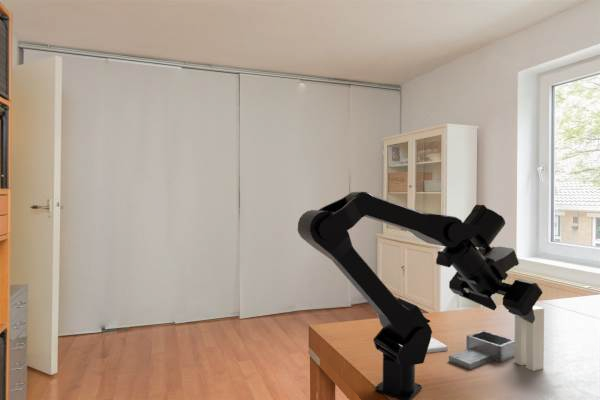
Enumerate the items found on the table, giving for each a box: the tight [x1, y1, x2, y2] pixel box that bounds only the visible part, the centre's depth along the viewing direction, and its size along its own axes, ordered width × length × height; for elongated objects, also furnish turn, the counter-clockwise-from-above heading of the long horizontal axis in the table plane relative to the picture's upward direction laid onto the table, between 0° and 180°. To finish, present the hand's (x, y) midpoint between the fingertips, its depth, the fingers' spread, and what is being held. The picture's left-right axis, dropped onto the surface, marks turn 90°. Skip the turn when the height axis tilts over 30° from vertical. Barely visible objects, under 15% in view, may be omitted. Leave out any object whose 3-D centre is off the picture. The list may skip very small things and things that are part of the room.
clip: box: [513, 305, 545, 372], centre depth 83 cm, size 3×4×12 cm
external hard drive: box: [399, 336, 449, 354], centre depth 93 cm, size 2×8×12 cm
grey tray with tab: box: [448, 330, 515, 370], centre depth 87 cm, size 16×8×3 cm, turn 124°
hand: (513, 314), depth 81 cm, fingers open, 9 cm apart
